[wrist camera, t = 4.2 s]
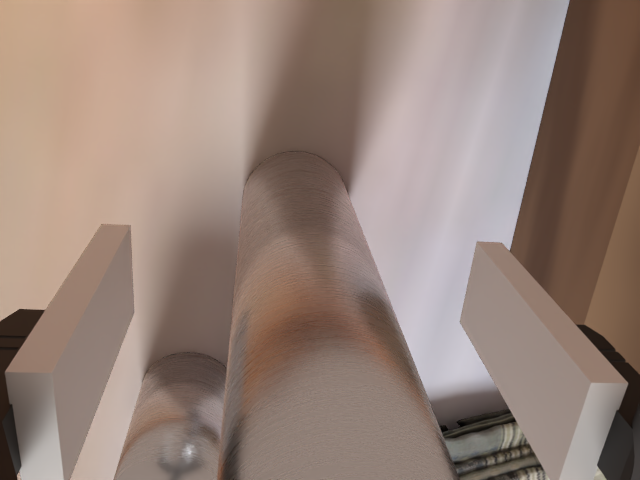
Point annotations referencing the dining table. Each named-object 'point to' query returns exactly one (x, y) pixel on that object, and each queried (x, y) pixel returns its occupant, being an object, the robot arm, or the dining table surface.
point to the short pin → (176, 421)
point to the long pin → (318, 344)
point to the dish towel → (494, 449)
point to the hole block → (590, 176)
